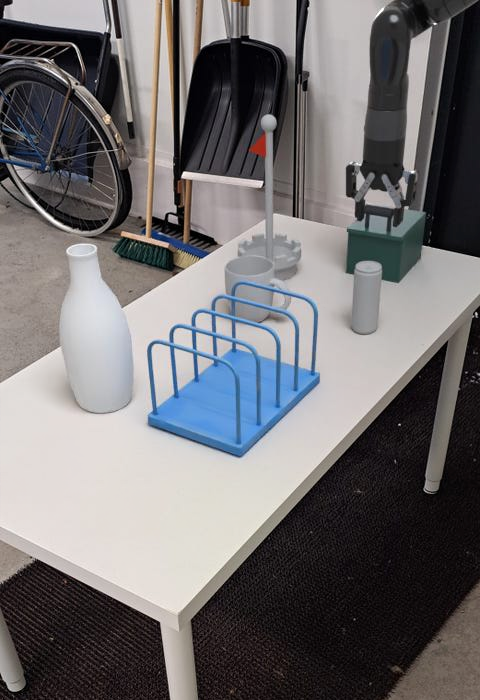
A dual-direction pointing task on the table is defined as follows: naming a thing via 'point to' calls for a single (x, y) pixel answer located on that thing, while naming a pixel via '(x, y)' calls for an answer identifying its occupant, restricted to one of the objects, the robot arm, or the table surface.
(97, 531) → the table surface
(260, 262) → the mug
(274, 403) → the file sorter
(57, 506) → the table surface
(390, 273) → the box
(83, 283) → the bottle
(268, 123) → the flag stand
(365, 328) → the beverage can
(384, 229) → the lid
